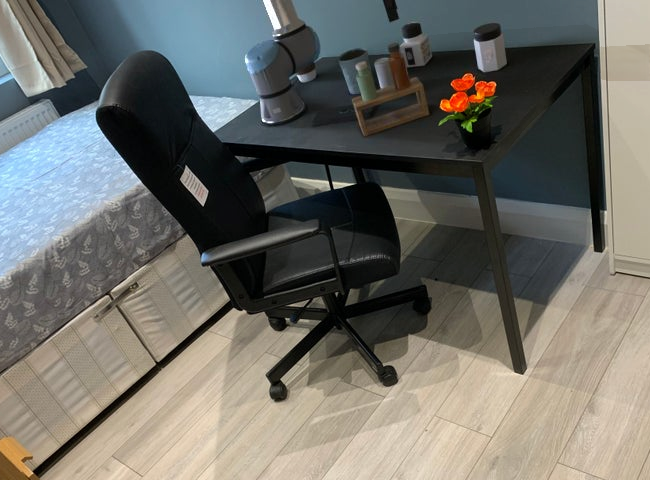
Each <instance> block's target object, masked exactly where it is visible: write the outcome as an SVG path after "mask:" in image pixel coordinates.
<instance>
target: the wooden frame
mask: <svg viewBox="0 0 650 480" xmlns="http://www.w3.org/2000/svg"><path fill="white" fill-rule="evenodd" d="M410 83H411V85H410V86H409V87H408V88H406V89H402V90H396V89H395V85H391V86H388V87H385V88H382V89H381V88H379V89H376V92H377V97H376V98H375V99H373V100H370V101H364V100H363V99H362V95H359V96H356V97H353V98H351V101H352V105H354V108H355V112H356V115H357V118H358V119H357V121H358V125H359V128H360V130H361V132H362V134H363V137H364V138H365V137H367V136H371V135H374V134H376V133H379V132H382V131H385V130H389V129H391V128H394V127H398V126H400V125H404V124H406V123H409V122H412V121H415V120H417V119H421V118H423V117H427V116H430V111H429V106H428V101H427V98H426V93H425V88H424V84H423V83H422V82H421V81H420V79H419V78H418V77H417V76H415V77H411V78H410ZM414 93H415V95H416V100H417V103H415V104H412V105H409V106H406V107H403V108H399V109H397V110H393V111H390V112H388V113H385V114H382V115H379V116H376V117H373V118H370V119H368V120H365V118H363V115H362V112H361V110H364V109H367V108H370V107H372V106H375V105H377V106H378V105H381V104H384V103H387V102H390V101H393V100H396V99H399V98H402V97H404V96H405V97H406V96H408V95H410V94H414Z"/></svg>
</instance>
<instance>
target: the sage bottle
mask: <svg viewBox="0 0 650 480" xmlns="http://www.w3.org/2000/svg"><path fill="white" fill-rule="evenodd" d="M356 69H357V70H358V73H359V74H357V76H356V78H357V81H358V85H359V88H360V92H361V95H362V99H363V100H364V101H370V100H373V99H375V98H376V97H377V92H376V90H377V89H376V85H375V80H374V77H373V73H371V72H372V70H371V71H367V64H366V62H359V63H357V64H356ZM361 95H360V96H361Z"/></svg>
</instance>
